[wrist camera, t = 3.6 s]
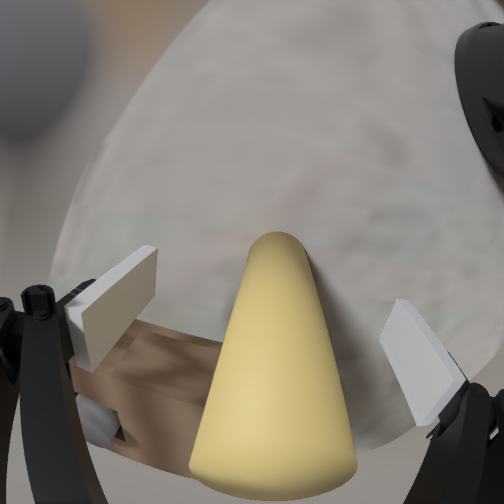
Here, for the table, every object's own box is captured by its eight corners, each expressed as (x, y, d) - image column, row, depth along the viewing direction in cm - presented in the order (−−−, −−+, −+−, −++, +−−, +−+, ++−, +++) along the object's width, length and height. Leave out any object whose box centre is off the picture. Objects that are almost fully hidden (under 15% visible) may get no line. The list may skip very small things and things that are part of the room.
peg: (312, 238, 18) (389, 442, 4) (298, 291, 20) (319, 502, 5) (254, 225, 18) (191, 424, 4) (243, 279, 20) (187, 488, 5)
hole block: (323, 361, 21) (338, 448, 13) (280, 442, 26) (278, 507, 18) (69, 295, 22) (10, 345, 13) (89, 389, 26) (56, 438, 18)
